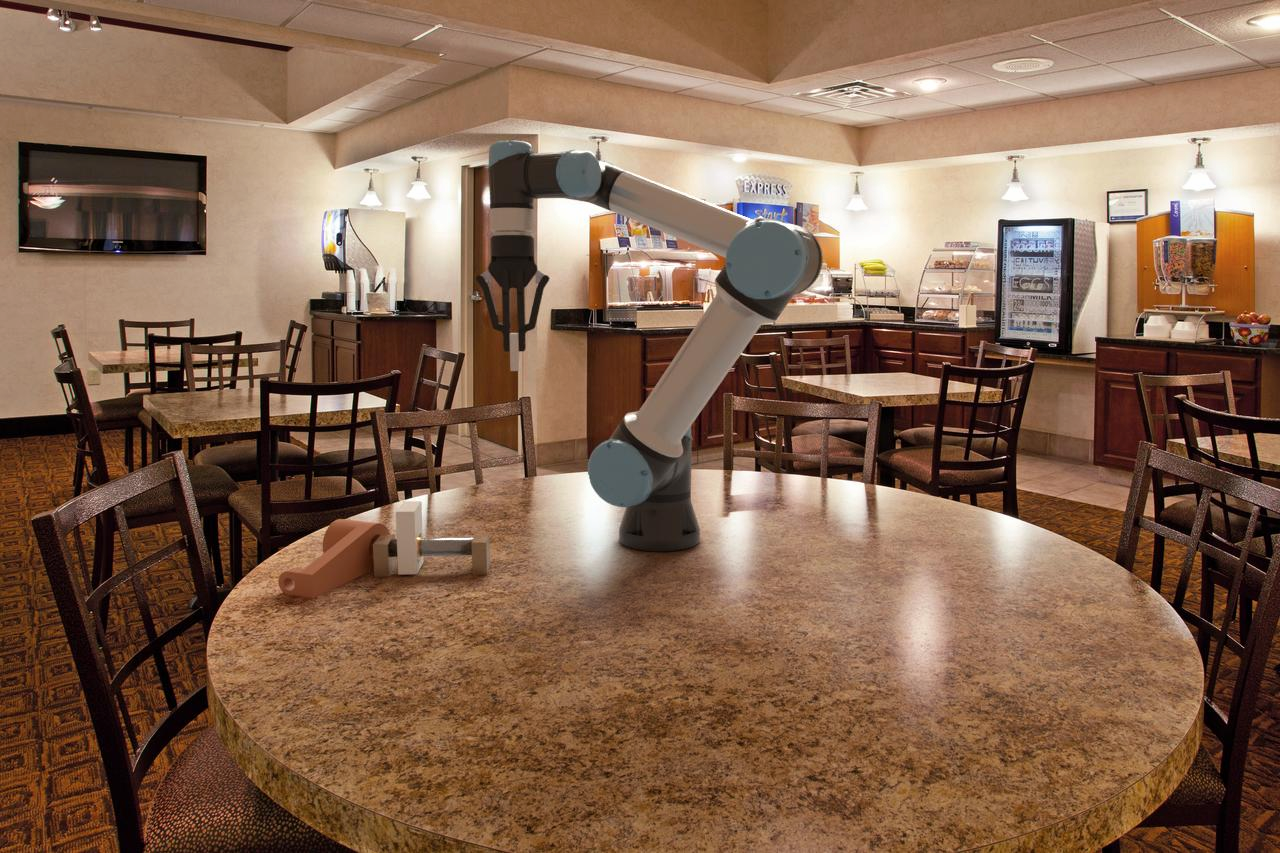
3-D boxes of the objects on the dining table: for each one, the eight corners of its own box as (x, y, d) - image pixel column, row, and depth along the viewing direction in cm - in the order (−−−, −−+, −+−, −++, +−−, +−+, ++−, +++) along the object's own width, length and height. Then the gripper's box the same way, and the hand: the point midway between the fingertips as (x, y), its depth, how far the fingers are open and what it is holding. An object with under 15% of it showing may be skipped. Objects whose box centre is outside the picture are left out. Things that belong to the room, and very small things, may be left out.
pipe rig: (490, 563, 160) (489, 531, 159) (487, 574, 154) (486, 541, 154) (381, 565, 159) (380, 533, 158) (374, 577, 153) (372, 543, 152)
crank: (353, 557, 165) (351, 514, 163) (391, 562, 162) (389, 518, 161) (272, 593, 146) (269, 544, 145) (313, 599, 143) (311, 549, 142)
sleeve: (423, 561, 160) (421, 501, 158) (416, 574, 153) (414, 511, 151) (406, 561, 160) (403, 501, 158) (398, 574, 153) (395, 511, 151)
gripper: (550, 235, 166) (552, 367, 169) (476, 235, 165) (480, 368, 169) (549, 233, 158) (551, 372, 162) (471, 233, 157) (475, 372, 161)
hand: (515, 370), depth 165 cm, fingers closed
